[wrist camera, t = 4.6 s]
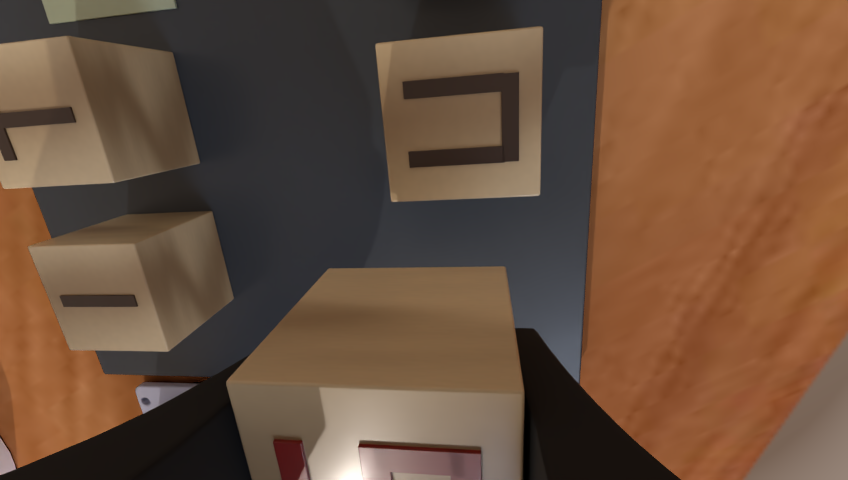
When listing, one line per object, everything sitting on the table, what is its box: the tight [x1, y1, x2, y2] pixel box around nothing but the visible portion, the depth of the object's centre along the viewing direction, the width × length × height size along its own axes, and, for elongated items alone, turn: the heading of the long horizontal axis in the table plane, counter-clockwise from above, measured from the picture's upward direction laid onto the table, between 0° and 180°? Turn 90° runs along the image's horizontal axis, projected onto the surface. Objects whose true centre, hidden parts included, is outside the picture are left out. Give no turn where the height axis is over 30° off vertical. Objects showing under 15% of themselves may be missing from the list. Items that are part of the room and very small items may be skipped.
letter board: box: [0, 0, 602, 385], centre depth 14 cm, size 22×24×5 cm
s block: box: [226, 266, 525, 480], centre depth 8 cm, size 4×4×4 cm
